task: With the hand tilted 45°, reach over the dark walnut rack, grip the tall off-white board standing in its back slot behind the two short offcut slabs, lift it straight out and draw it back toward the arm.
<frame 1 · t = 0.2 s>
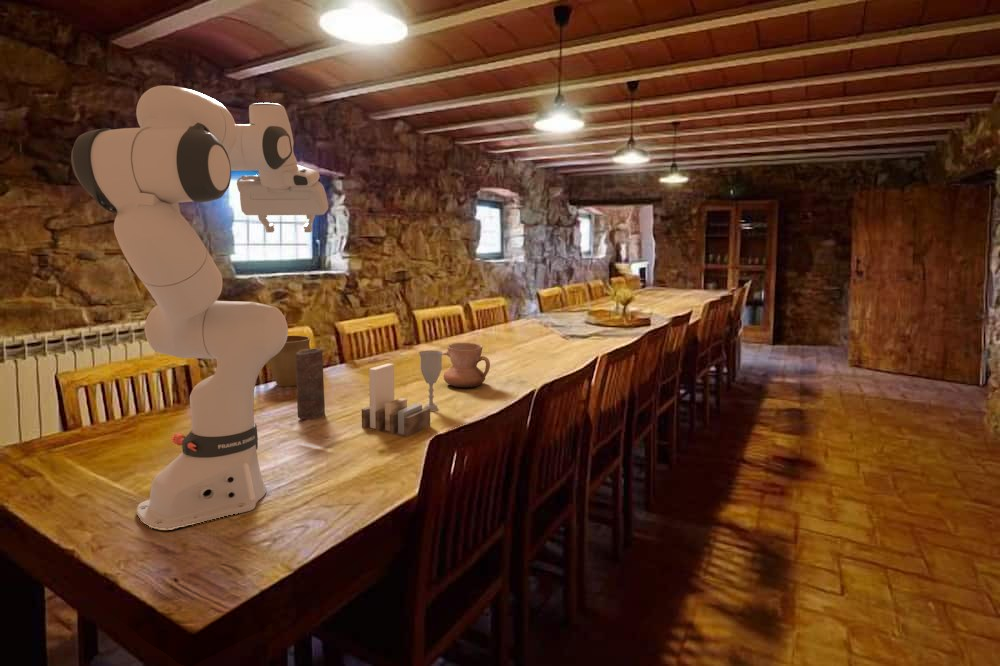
hand: (289, 231, 146), 52 cm above the table, tool tilted 20°, fingers open, 8 cm apart
chalice: (431, 413, 175), on the table
tall board: (382, 424, 160), point 1 cm above the table, touching rack
ceramic jug: (465, 385, 207), on the table
dark stone block: (311, 419, 167), on the table
offcut b: (410, 429, 156), point 1 cm above the table, touching rack
rack: (396, 430, 158), on the table
offcut a: (396, 426, 158), point 1 cm above the table, touching rack
plant pot: (288, 384, 204), on the table
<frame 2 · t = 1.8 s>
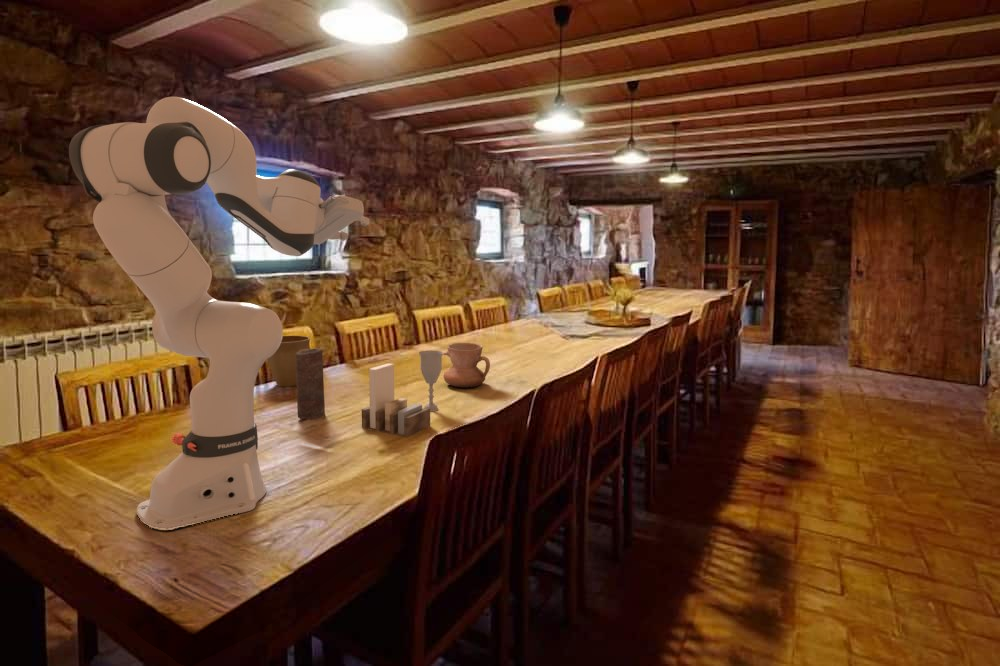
hand: (356, 230, 153), 53 cm above the table, tool tilted 75°, fingers open, 8 cm apart
nothing on the table moved.
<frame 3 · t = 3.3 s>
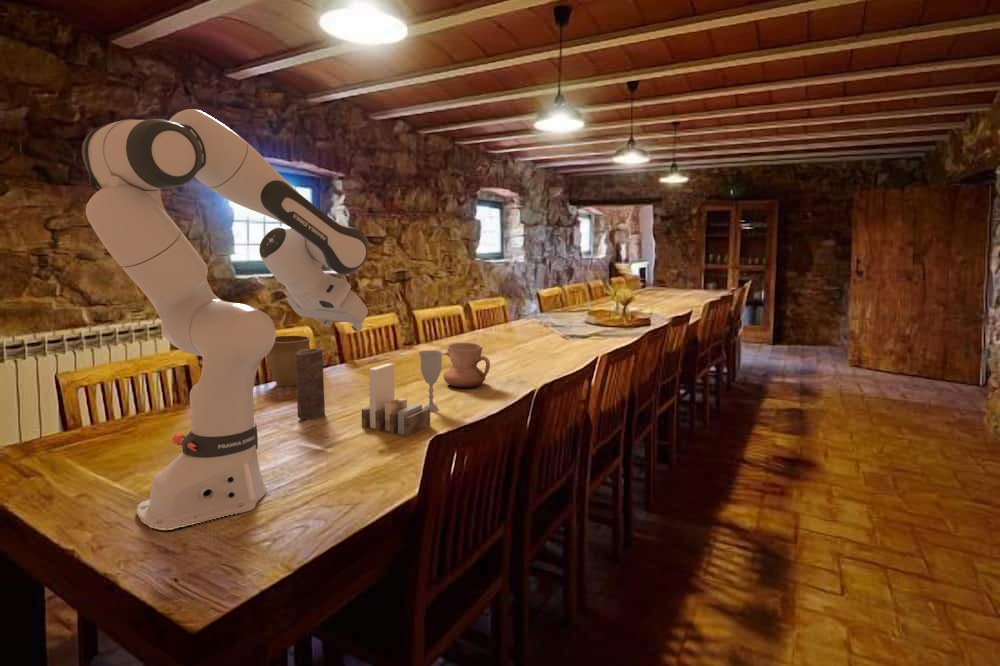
hand: (344, 327, 143), 30 cm above the table, tool tilted 45°, fingers open, 8 cm apart
nothing on the table moved.
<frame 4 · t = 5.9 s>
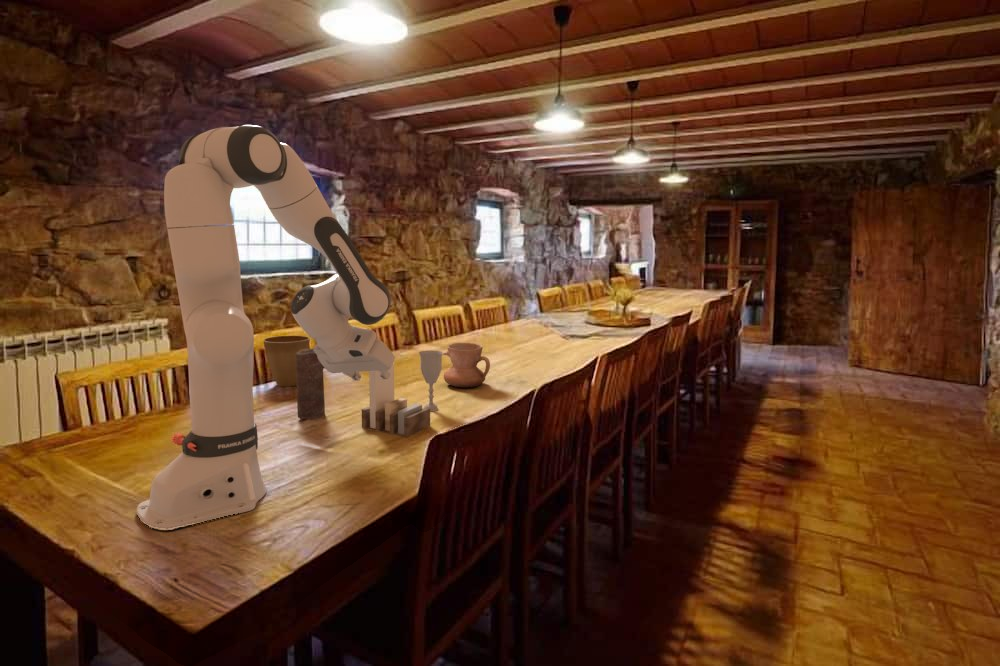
hand: (372, 377, 150), 16 cm above the table, tool tilted 40°, fingers open, 8 cm apart
nothing on the table moved.
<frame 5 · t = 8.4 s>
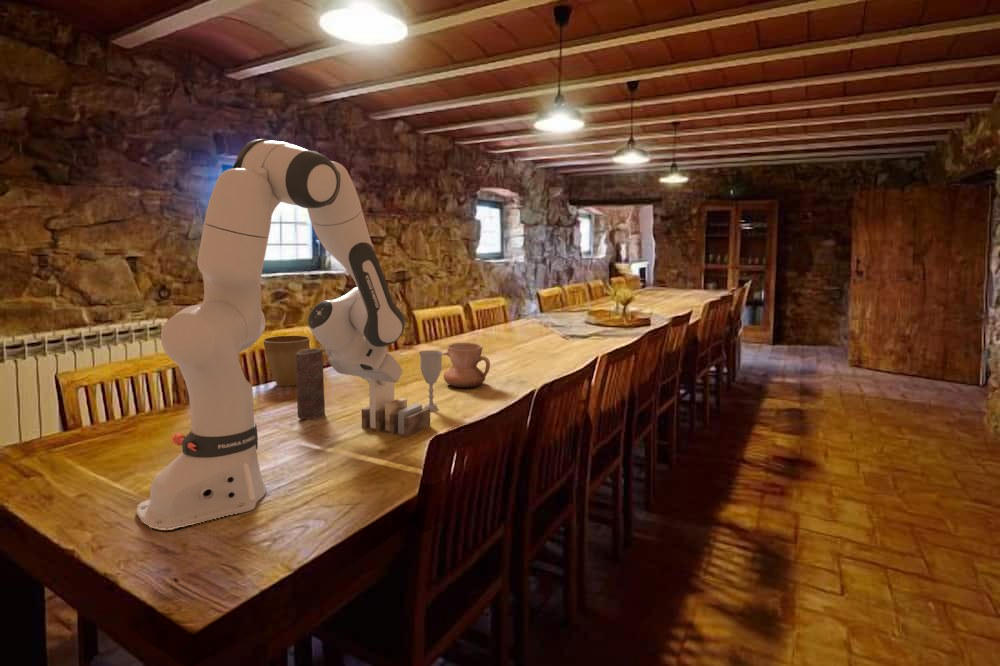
hand: (378, 382, 157), 13 cm above the table, tool tilted 45°, fingers closed on tall board, 2 cm apart
tall board: (382, 424, 160), point 1 cm above the table, touching gripper, rack
everything else where it was.
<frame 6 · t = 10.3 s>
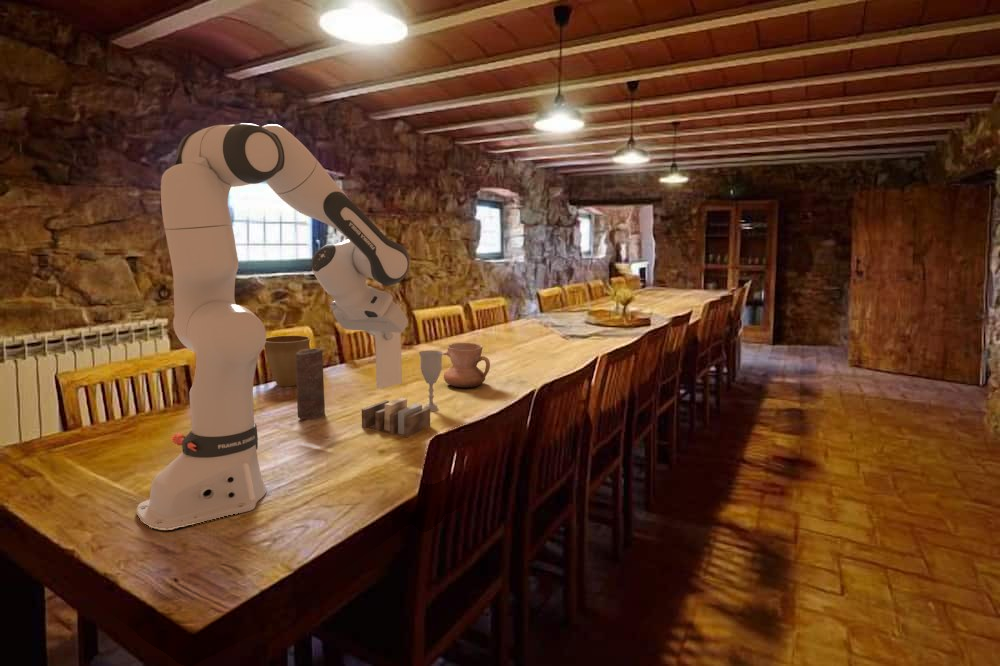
hand: (384, 337, 155), 25 cm above the table, tool tilted 45°, fingers closed on tall board
tall board: (389, 385, 157), point 12 cm above the table, touching gripper
everything else where it was.
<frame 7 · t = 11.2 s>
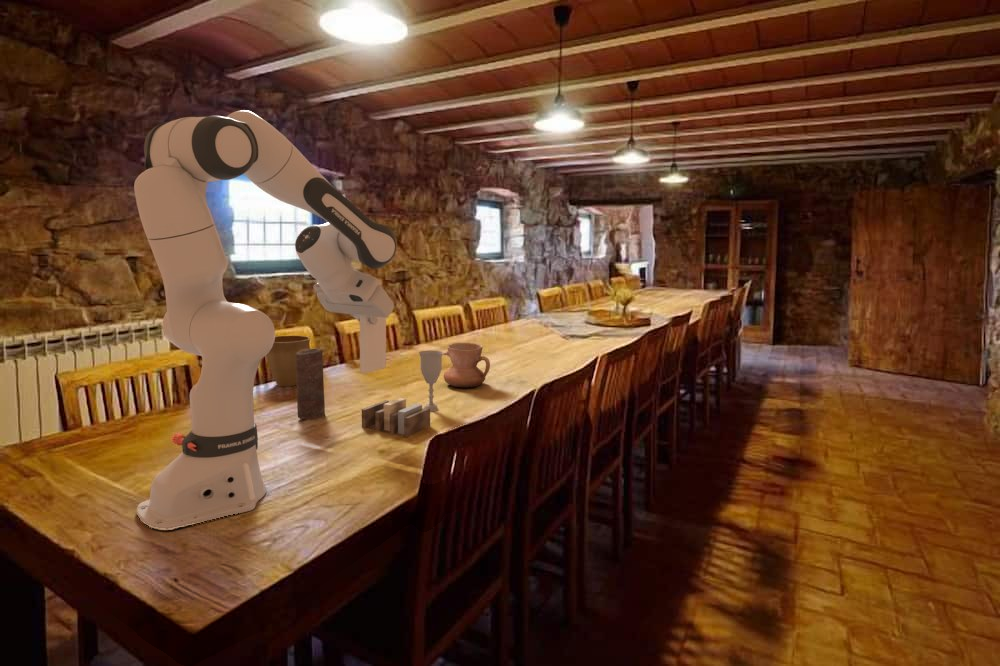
hand: (369, 321, 151), 30 cm above the table, tool tilted 45°, fingers closed on tall board
tall board: (373, 370, 154), point 17 cm above the table, touching gripper
everything else where it was.
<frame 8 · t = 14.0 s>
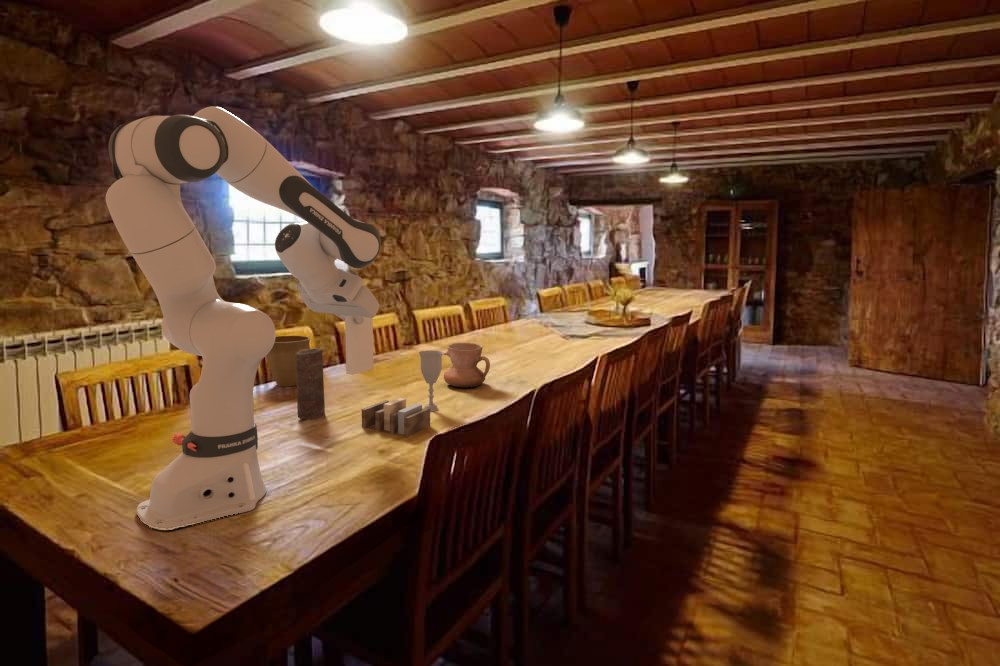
hand: (355, 321, 147), 30 cm above the table, tool tilted 45°, fingers closed on tall board
tall board: (360, 371, 150), point 17 cm above the table, touching gripper
everything else where it was.
at the end: the gripper is holding tall board; tall board point 17.4 cm above the table; offcut a moved 0.3 cm from its start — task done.
